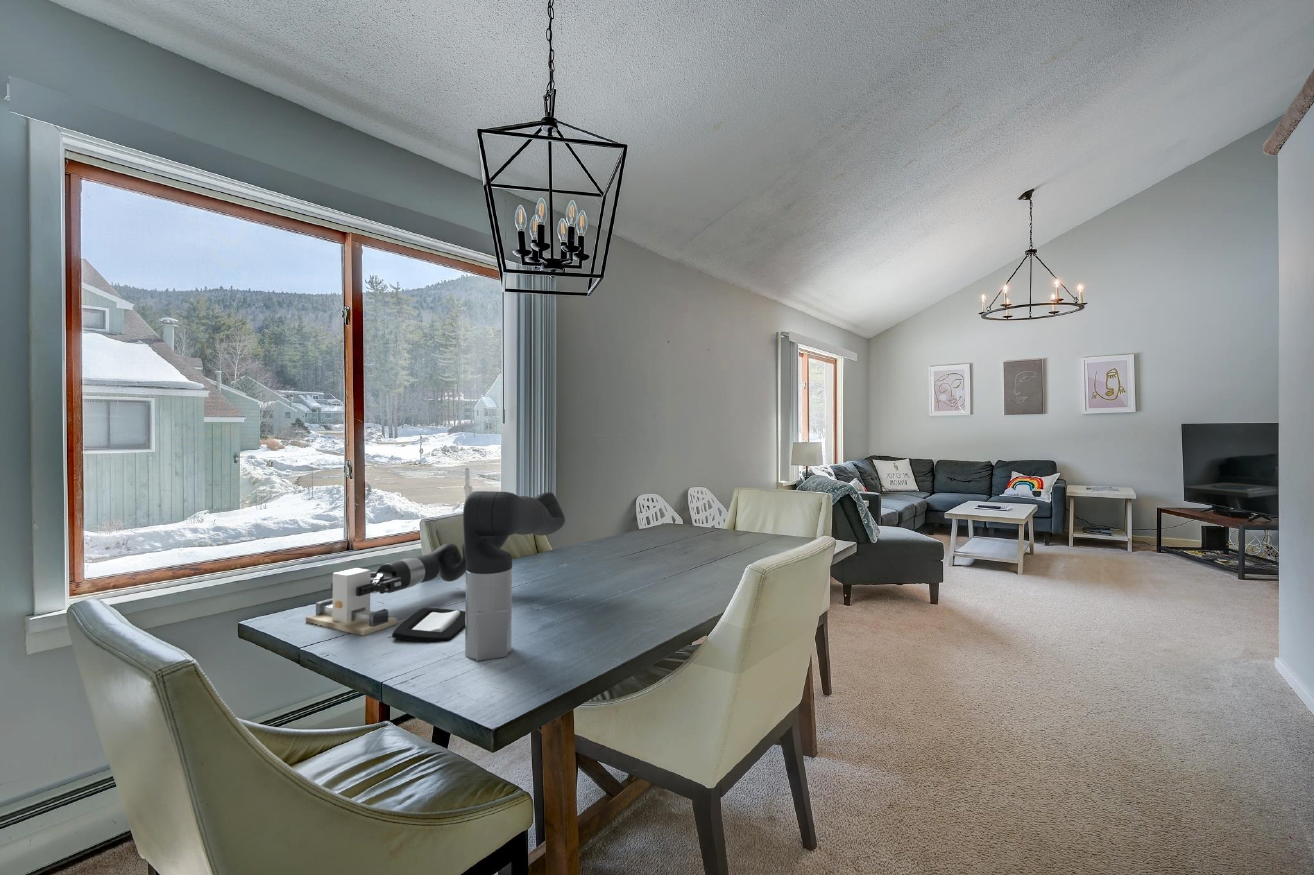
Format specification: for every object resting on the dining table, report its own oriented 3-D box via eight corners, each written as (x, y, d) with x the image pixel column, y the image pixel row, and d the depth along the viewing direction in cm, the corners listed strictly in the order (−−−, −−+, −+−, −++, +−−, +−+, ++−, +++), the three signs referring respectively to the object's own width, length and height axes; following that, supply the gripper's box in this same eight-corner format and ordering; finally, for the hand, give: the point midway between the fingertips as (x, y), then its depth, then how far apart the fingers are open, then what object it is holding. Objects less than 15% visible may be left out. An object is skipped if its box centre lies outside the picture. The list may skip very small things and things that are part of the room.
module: (370, 615, 138) (370, 570, 138) (344, 624, 132) (344, 576, 132) (356, 612, 140) (356, 567, 140) (329, 620, 134) (330, 573, 134)
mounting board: (397, 623, 136) (397, 618, 136) (363, 635, 128) (363, 630, 128) (340, 611, 144) (340, 607, 144) (305, 622, 136) (305, 617, 136)
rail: (388, 621, 134) (388, 609, 134) (373, 627, 130) (373, 614, 130) (331, 609, 142) (331, 598, 142) (315, 614, 138) (315, 602, 138)
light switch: (451, 635, 124) (386, 629, 124) (450, 649, 124) (385, 642, 124) (477, 607, 144) (421, 602, 143) (476, 619, 144) (420, 613, 143)
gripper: (421, 592, 146) (364, 609, 131) (382, 585, 152) (323, 601, 137) (421, 563, 146) (365, 577, 131) (382, 557, 152) (324, 570, 137)
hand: (344, 589), depth 134 cm, fingers open, 8 cm apart
